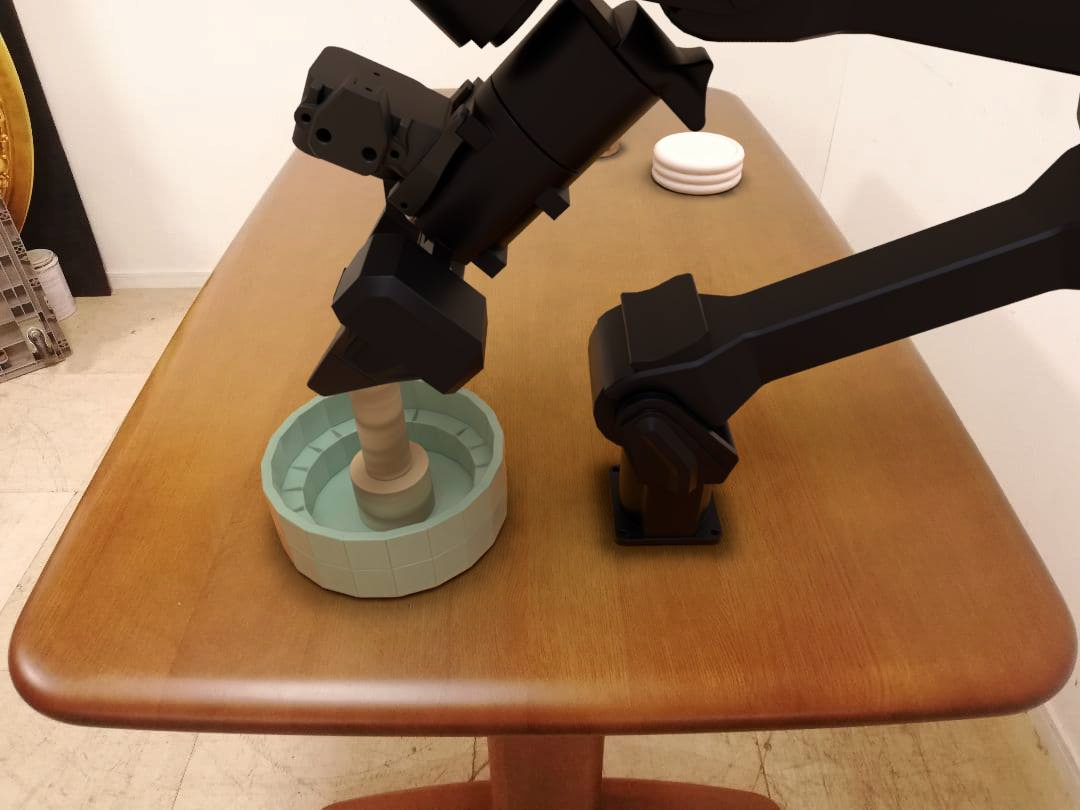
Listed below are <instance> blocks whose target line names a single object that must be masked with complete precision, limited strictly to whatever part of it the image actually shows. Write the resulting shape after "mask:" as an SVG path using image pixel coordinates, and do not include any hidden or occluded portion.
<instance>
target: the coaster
mask: <svg viewBox="0 0 1080 810" xmlns="http://www.w3.org/2000/svg"><path fill="white" fill-rule="evenodd" d="M743 147H744V146H742V145H741V144H740V143H739V142H738V141H736V140H735V139H733V138H730V137H728V136H726V135H723V134H718V133H714V132H704V131H698V132H692V131H685V132H678V133H673V134H670V135H667V136H664V137H663V138H661V139H660V140H658V141H657V142H656V143H655V145H654V147H653V150H652V154H653V157H652V159H651V160H652V162H651V164H652V168H651V176H652V178H653V180H654V181H655V182H656V183H658V184H659V185H660V186H661V187H663V188H665V189H667V190H670V191H673V192H677V193H682V194H687V195H714V194H718V193H719V194H720V193H723V192H725V191H726V192H727V191H728V190H731V189H732V188H734V187H736V186H737V185H738V184H739V183H740V181H741V178H742V174H743V173H742V170H743V168H744V162H743V161H744V159H745V156H746V154H745V150H744V148H743Z"/></svg>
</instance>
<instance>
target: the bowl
mask: <svg viewBox="0 0 1080 810" xmlns="http://www.w3.org/2000/svg"><path fill="white" fill-rule="evenodd" d="M399 386H400V392H401V398H402V404H403V410H404V415H405V421H406V427H407V433H408V439H409V440H410V441H413V442H415V443H417V444H419V445H420V446H421V447H422V448H423V449H424V450H425V451H426V453H427V455H428V458H429V464H430V471H431V478H432V484H433V491H434V497H435V505H434V508H433V511H432V513H431V514H430V516H429V517H428V518H427V519H426V520H425V521H424V522H421V523H417V524H413V525H409V526H405V527H401V528H397V529H393V530H389V531H385V532H377V531H375V530H373V529H371V528H369V527H368V526H367V525H366V524H365V523H364V522H363V521H362V520H361V517H360V515H359V511H358V506H357V502H356V498H355V494H354V490H353V486H352V482H351V478H350V474H349V469H350V464H351V462H352V460H353V458H354V457H355V455H356V454H357V453H358V452H359V451H360V450H361V445H360V441H359V436H358V432H357V427H356V423H355V419H354V414H353V410H352V405H351V401H350V396H349V392H346V393H342V394H337V395H332V396H328V397H323V396H321V395H319V394H317V395H316V396H315V397H313V398H312V399H310V400H309V401H307V402H306V403H304V404H303V405H302V406H300V407H298V408H296V410H294V411H293V412H291V413H290V414H289V415H288V416H287V418H285V420H284V421H283V422H282V424H281V425H280V426H279V427H278V428H277V429H276V430H275V432H273V434H272V435H271V437H269V441H268V443H267V445H266V448H265V451H264V453H263V456H262V458H261V461H260V474H261V475H260V476H261V486H262V487H261V488H262V491H263V494H264V497H265V500H266V503H267V506H268V509H269V511H270V515H271V517H272V520H273V523H274V526H275V529H276V532H277V535H278V537H279V540H280V543H281V546H282V548H283V550H284V551H285V552H286V554H287V556H288V558H289V559H290V561H291V563H292V564H293V566H294V567H295V569H296V570H297V571H298V572H300V573H301V574H302V575H304V576H305V577H307V578H309V579H310V580H311V581H313V582H314V583H315V584H316V585H318V586H320V587H321V588H324V589H325V590H330V591H334V592H337V593H341V594H344V595H349V596H352V597H355V598H398V597H404V596H407V595H411V594H414V593H418V592H422V591H425V590H426V591H427V590H429V589H433V588H436V587H438V586H441V585H443V584H445V582H447V581H449V580H450V579H453V578H454V577H456V576H458V575H459V574H461V573H463V572H465V571H466V570H469V569H470V568H472V566H473V565H474V564H475V563H477V562H478V560H480V558H481V557H482V556H483V555H484V554H485V553H486V552H487V551H488V550H489V549H490V548H491V547H492V546H493V545H494V543H495V541H496V539H497V538H498V535H499V532H500V530H501V529H502V526H503V524H504V522H505V520H506V518H507V515H508V478H507V475H508V474H507V463H506V462H507V461H506V444H505V443H506V442H505V433H504V430H503V429H502V426H501V424H500V422H499V420H498V417H497V415H496V413H495V411H494V409H493V408H491V407H490V406H489V404H488V403H486V402H485V401H484V400H483V399H482V398H481V397H480V396H479V395H477V394H476V393H475V392H473V391H471V390H469V389H467V388H465V387H464V386H463V387H462V388H461V389H460V390H458V391H457V392H456V393H455V394H447V395H443V394H441V393H440V392H438V391H437V390H436V389H434V388H433V387H431V386H430V385H428V384H427V383H425V382H424V381H423V380H413V381H404V382H399Z"/></svg>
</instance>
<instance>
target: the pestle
mask: <svg viewBox="0 0 1080 810" xmlns="http://www.w3.org/2000/svg"><path fill="white" fill-rule="evenodd" d="M341 326H342V324H341V323H339V326H338V328H336V331H335V334H334V336H335V335H336V334H337V332H338V331H339V329H340V327H341ZM349 396H350V401H351V405H352V410H353V414H354V419H355V423H356V427H357V432H358V436H359V441H360V445H361V450H360V451H359V452H358V453H357V454H356V455H355V457H354V458H353V460H352V462H351V464H350V469H349V474H350V478H351V482H352V486H353V490H354V494H355V498H356V502H357V506H358V511H359V515H360V517H361V520H362V521H363V522H364V523H365V524H366V525H367V526H368V527H369V528H371V529H373V530H375V531H377V532H385V531H389V530H393V529H397V528H401V527H405V526H409V525H413V524H417V523H421V522H424V521H425V520H426V519H427V518H428V517H429V516H430V514H431V513H432V511H433V508H434V505H435V497H434V491H433V484H432V478H431V471H430V464H429V458H428V455H427V453H426V451H425V450H424V449H423V448H422V447H421V446H420V445H419V444H417V443H415V442H413V441H410V440H409V439H408V433H407V427H406V421H405V415H404V410H403V404H402V398H401V392H400V386H399V382H396V383H390V384H384V385H379V386H374V387H370V388H365V389H360V390H356V391H351V392H349Z"/></svg>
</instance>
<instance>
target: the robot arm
mask: <svg viewBox="0 0 1080 810" xmlns="http://www.w3.org/2000/svg"><path fill="white" fill-rule="evenodd" d="M409 1H410V3H411V4H413V5H414V6H415V7H416V8H417V9H418V10H419V11H420V12H421V13H422V14H423V15H424V16H425V17H426V18H427V19H428V20H430V22H431V23H432V24H434V25H435V26H436V27H437V28H438V30H439V31H441V32H442V33H443V34H444V35H445V36H446V37H447V38H448V39H449V40H450V41H451V42H452V43H453V44H454V45H455V46H456V47H458V48H459V49H460V48H463V47H464V46H466V45H467V44H469V42H471V41H472V42H473V43H474V44H475V45H476V46H477V47H478V48H479V49H480V50H483V49H484V48H485V47H486V46H487V45H488V44H489V43H490V45H492V46H493V48H499V47H501V46H503V45H504V44H505V43H506V42H507V41H508V40H510V39H511V38H512V37H513V36H514V35H515V34H516V33H517V32H518V30H520V29H521V27H522V26H523V25H524V24H525V23H526V22H527V21H528V19H530V17H531V16H532V15H533V14H534V12H535V11H536V10H537V9H538V7H539V6H540V5H541V4H542V2H543V1H544V0H409ZM642 1H643V2H649V3H654V4H658V5H659V7H660V8H661V10H662V12H663V14H664V15H665V17H666V18H667V19H668V20H669V21H670V23H671V24H672V25H673V26H674V27H676V28H677V29H678V30H680V32H682V33H684V34H686V35H688V36H691V37H694V38H695V39H699V40H701V41H703V42H709V43H710V42H711V43H798V42H804V41H810V40H814V39H820V38H825V37H830V36H831V37H832V36H835V35H836V36H837V35H871V36H877V37H882V38H886V39H887V38H888V39H892V40H896V41H903V42H908V43H912V44H916V45H917V44H918V45H922V46H926V47H931V48H932V47H933V48H938V49H942V50H946V51H953V52H957V53H962V54H968V55H973V56H977V57H982V58H988V59H992V60H995V61H996V60H997V61H1001V62H1007V63H1012V64H1015V65H1016V64H1017V65H1022V66H1027V67H1032V68H1037V69H1041V70H1042V69H1043V70H1047V71H1051V72H1057V73H1062V74H1066V75H1072V76H1076V77H1080V0H642ZM612 8H613V9H612ZM714 69H715V65H714V62H713V60H712V58H711V56H710V54H709V53H708V50H707V49H706V47H703V46H693V47H681V46H677V45H676V44H675V43H674V42H673V41H672V40H671V38H670V37H669V36H668V35H667V34H666V33H665V32H664V30H663V29H662V27H660V26H659V25H658V24H657V23H656V21H655V20H654V19H653V17H652V16H651V15H650V14H649V13H648V12H647V11H646V10H645V8H644V7H643V6H642V5H641V4H640V2H639V1H637V0H625V1H623V2H621V3H619V4H618V5H616V6H614V7H611V5H609V4H608V3H607V2H606V1H605V0H556V1H555V2H554V3H553V4H552V6H551V7H550V8H549V9H548V10H547V11H545V13H544V15H543V16H542V17H541V18H540V19H538V21H537V22H536V24H535V25H534V26H533V27H532V28H531V29H530V30H529V31H528V32H527V34H525V36H524V37H523V38H522V39H521V40H520V42H518V44H517V45H516V46H515V47H514V48H513V50H511V51H510V52H509V54H508V55H507V56H506V57H505V58H504V60H502V62H501V63H500V64H499V65H497V68H495V69H494V71H492V73H491V74H490V75H489V76H488V77H487V78H486V80H485V81H484V80H483V79H482V78H481V77H480V76H476V78H475V79H474V81H473V82H472V81H471V80H470V79H469V78H467V79H465V80H464V82H463V83H462V84H460V86H459V87H458V88H457V90H456V91H455V92H454V93H453V94H452V95H451V96H450V97H448V96H446V95H444V94H442V93H439V92H438V91H436V90H434V89H432V88H429V87H427V85H424V84H423V83H422V82H421V81H419V80H417V79H415V78H413V77H411V76H408V75H406V74H403V72H400V71H397V70H395V69H393V68H390V67H388V66H386V65H384V64H382V63H379V62H378V61H375V60H373V59H370V58H367V57H366V56H363V55H361V54H358V53H356V52H355V51H352V50H349V49H348V48H347V49H346V48H344V47H341V46H337V45H336V46H335V45H328V46H325V47H324V48H323V49H322V50H321V52H320V53H319V54H318V56H317V57H316V58H315V59H314V62H312V64H311V65H310V67H309V68H308V71H307V75H306V79H305V82H304V87H303V91H302V96H301V99H300V103H299V104H298V106H297V107H296V108H295V111H294V112H293V120H294V122H295V124H294V127H293V128H294V129H293V132H292V136H291V142H292V143H293V145H294V146H295V148H297V149H298V150H299V151H300V152H302V153H303V154H306V155H308V156H310V157H312V158H315V159H317V160H322V161H324V162H328V163H330V164H332V165H334V166H337V167H340V168H342V169H345V170H346V171H349V172H352V173H355V174H357V175H359V176H363V177H369V176H371V177H373V178H377V179H379V180H382V184H383V192H384V200H385V205H384V207H383V209H382V210H381V213H380V215H379V216H378V218H377V220H376V222H375V223H374V226H373V228H372V230H371V231H370V233H369V235H368V237H367V238H366V241H365V242H364V244H363V245H362V247H360V248H359V250H358V251H357V252H356V254H355V255H354V257H353V258H352V260H351V261H350V263H349V264H348V266H347V267H344V268H343V269H342V273H341V275H340V277H339V281H338V283H337V286H336V288H335V291H334V294H333V296H332V301H331V305H330V307H331V309H332V311H333V313H334V315H335V317H336V319H337V321H338V322H339V324H342V326H341V327H340V329H339V331H338V332H337V334H336V333H335V334H336V335H335V334H334V337H333V338H332V340H331V342H330V343H329V345H328V346H327V348H326V350H325V351H324V353H322V356H321V357H320V359H319V361H318V362H317V364H316V366H315V368H314V369H313V371H312V372H311V373H310V375H309V377H308V379H307V382H306V387H307V388H308V389H309V390H311V391H313V392H314V393H315V394H317V395H321V396H323V397H328V396H332V395H337V394H342V393H346V392H351V391H356V390H360V389H365V388H370V387H374V386H379V385H384V384H390V383H396V382H404V381H413V380H423V381H424V382H425V383H427V384H428V385H430V386H431V387H433V388H434V389H436V390H437V391H438V392H440V393H441V394H443V395H447V394H455V393H456V392H457V391H458V390H460V389H461V388H462V387H463V388H464V387H465V385H467V384H468V383H469V382H470V381H471V380H472V379H474V378H475V377H476V376H477V375H478V374H479V373H480V372H482V371H483V370H484V368H485V359H486V348H487V338H488V327H489V320H488V319H489V317H488V305H487V297H486V296H485V295H483V294H482V293H481V292H480V291H478V290H477V289H476V288H474V287H473V286H472V285H471V284H469V283H468V282H467V281H466V280H465V275H466V266H468V265H469V264H470V263H472V264H473V265H474V266H476V268H478V269H479V270H481V271H482V272H483V273H484V274H485V275H486V276H487V277H489V278H490V279H492V280H493V279H494V278H495V277H496V276H497V275H498V274H500V272H502V271H503V270H504V269H505V268H506V267H507V265H508V253H509V251H508V250H509V245H510V244H511V243H512V242H513V241H514V240H515V239H516V238H518V236H520V235H521V233H523V231H524V230H525V229H526V228H528V227H529V226H530V225H531V224H532V223H533V222H534V221H535V220H536V219H537V218H539V216H540V215H541V214H542V213H545V215H547V216H548V217H549V218H550V219H551V220H552V221H556V220H557V219H558V218H559V217H560V216H561V215H562V214H563V213H564V212H565V211H566V210H568V209H569V208H570V207H571V196H570V187H571V185H573V184H574V182H576V181H577V180H578V179H579V178H580V177H581V176H582V175H583V174H584V173H585V172H586V171H587V170H588V169H589V168H590V167H591V166H593V165H594V164H595V162H596V161H598V160H599V159H600V158H602V157H601V156H602V155H603V154H604V153H605V152H606V151H607V150H608V149H609V148H610V147H611V146H612V145H613V144H614V143H615V142H616V141H617V140H618V141H619V140H620V139H621V138H622V137H623V136H624V135H625V134H626V133H627V132H628V131H629V130H630V129H631V128H632V127H634V125H635V124H636V123H638V121H640V119H642V118H643V117H644V116H645V115H646V114H647V113H648V112H649V111H650V110H651V109H653V107H654V106H655V105H656V104H657V103H658V102H660V101H662V102H663V103H664V104H665V105H666V106H667V107H668V108H669V109H670V110H671V112H672V113H673V114H674V115H675V116H676V117H677V118H678V119H679V120H680V122H681V123H682V124H683V125H684V126H685V127H686V128H687V129H688V131H689V132H701V131H702V130H703V129H705V127H706V123H707V118H706V117H707V116H706V115H707V114H706V112H707V111H706V106H707V94H708V93H707V92H708V87H709V82H710V79H711V76H712V73H713V72H714ZM1075 114H1076V121H1077V126H1078V129H1079V130H1080V93H1079V95H1078V102H1077V108H1076V113H1075ZM1062 290H1063V291H1064V290H1071V291H1080V143H1078V144H1076V145H1074V146H1072V147H1070V148H1068V149H1066V150H1065V151H1064V152H1063V153H1062V154H1061V155H1060V156H1059V157H1058V158H1057V159H1055V161H1053V163H1051V165H1049V167H1048V168H1046V169H1045V171H1043V173H1041V174H1040V176H1039V177H1038V178H1037V179H1036V180H1034V182H1032V184H1030V185H1029V187H1027V189H1025V190H1024V191H1023V192H1021V193H1019V194H1017V195H1015V196H1013V197H1011V198H1008V199H1006V200H1002V201H1000V202H997V203H994V204H991V205H989V206H986V207H983V208H980V209H977V210H974V211H971V212H969V213H965V214H964V215H961V216H958V217H955V218H952V219H950V220H946V221H943V222H941V223H938V224H935V225H932V226H930V227H926V228H924V229H922V230H918V231H915V232H913V233H910V234H907V235H905V236H901V237H899V238H895V239H893V240H890V241H887V242H884V243H882V244H879V245H877V246H873V247H871V248H868V249H866V250H861V251H859V252H856V253H853V254H851V255H848V256H845V257H843V258H839V259H837V260H834V261H831V262H829V263H825V264H822V265H820V266H818V267H817V266H816V267H814V268H812V269H808V270H806V271H803V272H801V273H797V274H795V275H792V276H789V277H786V278H783V279H781V280H778V281H775V282H772V283H768V284H766V285H764V286H761V287H758V288H756V289H752V290H750V291H747V292H744V293H741V294H736V295H735V294H734V295H722V294H721V295H720V294H710V293H699V291H698V288H697V285H696V282H695V278H694V275H693V274H692V273H690V272H685V273H682V274H677V275H673V276H672V277H670V278H669V279H667V280H665V281H663V282H661V283H659V284H658V285H655V286H653V287H651V288H648V289H644V290H640V291H627V292H626V291H625V292H624V291H623V292H621V293H619V298H620V303H619V304H618V305H616V306H613V307H612V308H610V309H608V310H606V311H605V312H604V313H602V314H601V315H600V316H599V317H598V318H597V320H596V324H595V325H594V326H593V329H592V331H591V332H590V335H589V337H588V344H587V357H588V369H589V378H590V379H589V381H590V395H591V405H592V406H591V407H592V415H593V419H594V422H595V426H596V428H597V429H598V431H599V432H600V433H601V435H602V436H603V437H604V438H605V439H606V440H608V441H609V442H611V443H613V444H614V445H616V446H618V447H620V461H619V464H613V465H610V466H609V467H608V472H607V473H608V483H609V494H610V503H611V504H610V505H611V513H612V515H611V516H612V522H613V523H612V524H613V532H614V533H613V534H614V540H615V542H616V543H617V544H619V545H634V546H635V545H680V544H681V545H692V544H693V545H694V544H696V545H697V544H699V545H700V544H701V545H703V544H719V543H720V542H721V541H722V540H723V539H722V538H723V529H722V525H721V522H720V521H721V520H720V517H719V512H718V508H717V504H716V500H715V497H714V491H713V485H722V484H723V483H725V481H726V480H727V478H728V477H729V476H730V474H731V473H732V471H733V470H734V469H735V467H736V466H737V464H738V463H739V460H740V458H739V455H738V450H737V448H736V445H735V441H734V440H735V439H734V437H733V434H732V430H731V427H730V423H729V419H731V417H732V416H733V415H735V414H736V412H737V411H738V410H739V409H740V408H741V407H743V406H744V405H745V403H747V401H749V400H750V399H751V398H752V397H753V396H754V395H755V394H756V392H758V391H759V390H760V389H761V388H762V387H764V386H765V385H767V384H770V383H771V382H774V381H777V380H780V379H783V378H786V377H789V376H792V375H796V374H799V373H802V372H805V371H808V370H812V369H814V368H818V367H821V366H824V365H826V364H830V363H833V362H836V361H839V360H842V359H846V358H848V357H851V356H854V355H857V354H861V353H864V352H867V351H870V350H873V349H875V348H879V347H882V346H886V345H888V344H892V343H896V342H898V341H902V340H905V339H907V338H910V337H913V336H916V335H917V336H918V335H920V334H922V333H926V332H929V331H932V330H935V329H938V328H941V327H945V326H947V325H950V324H954V323H957V322H960V321H963V320H967V319H969V318H973V317H977V316H979V315H982V314H984V313H985V314H986V313H988V312H991V311H994V310H998V309H1000V308H1004V307H1006V306H1009V305H1013V304H1015V303H1019V302H1021V301H1025V300H1028V299H1031V298H1035V297H1037V296H1041V295H1043V294H1047V293H1050V292H1057V291H1062Z"/></svg>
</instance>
